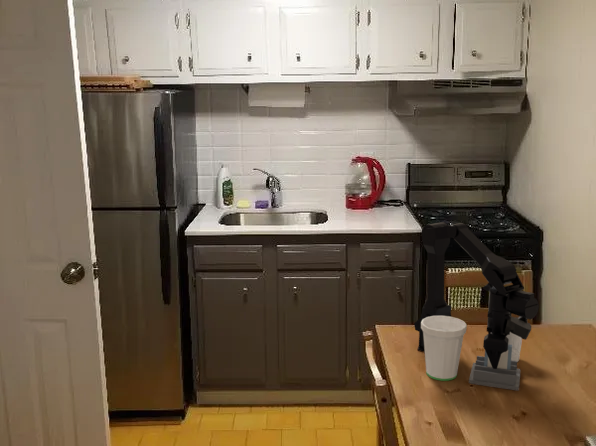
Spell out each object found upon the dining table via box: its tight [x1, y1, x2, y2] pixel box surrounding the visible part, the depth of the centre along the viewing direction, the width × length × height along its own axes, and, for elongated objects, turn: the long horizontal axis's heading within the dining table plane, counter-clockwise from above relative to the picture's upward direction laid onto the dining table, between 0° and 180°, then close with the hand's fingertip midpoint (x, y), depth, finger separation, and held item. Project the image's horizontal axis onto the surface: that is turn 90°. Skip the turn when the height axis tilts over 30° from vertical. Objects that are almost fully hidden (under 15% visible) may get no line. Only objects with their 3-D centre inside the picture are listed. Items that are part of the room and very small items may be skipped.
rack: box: [468, 355, 521, 392], centre depth 179 cm, size 13×12×4 cm
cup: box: [421, 316, 468, 382], centre depth 181 cm, size 12×12×15 cm
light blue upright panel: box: [484, 344, 512, 370], centre depth 179 cm, size 7×2×9 cm, turn 70°
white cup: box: [506, 332, 523, 363], centre depth 191 cm, size 8×8×10 cm
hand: (495, 361), depth 179 cm, fingers open, 9 cm apart
